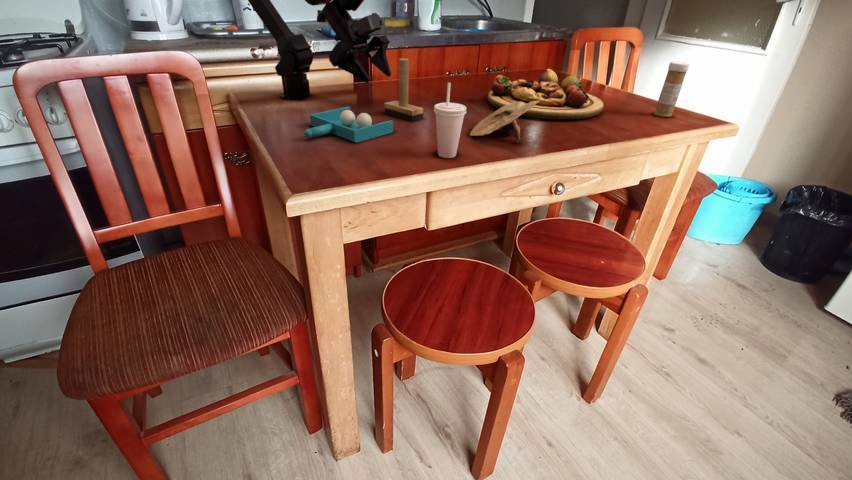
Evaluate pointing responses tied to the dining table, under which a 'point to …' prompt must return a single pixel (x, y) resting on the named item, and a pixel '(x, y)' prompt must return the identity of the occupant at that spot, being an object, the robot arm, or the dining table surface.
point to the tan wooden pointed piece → (503, 119)
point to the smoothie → (448, 126)
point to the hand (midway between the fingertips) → (379, 78)
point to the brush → (403, 97)
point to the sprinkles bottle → (671, 88)
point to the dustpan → (344, 127)
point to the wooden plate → (546, 96)
